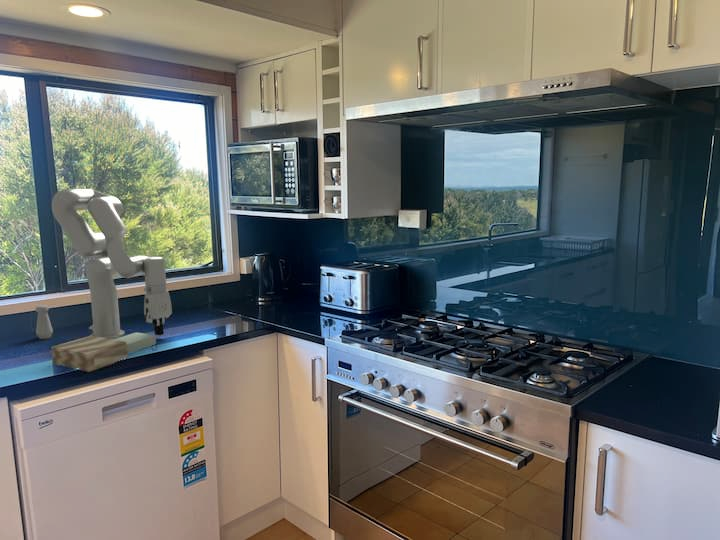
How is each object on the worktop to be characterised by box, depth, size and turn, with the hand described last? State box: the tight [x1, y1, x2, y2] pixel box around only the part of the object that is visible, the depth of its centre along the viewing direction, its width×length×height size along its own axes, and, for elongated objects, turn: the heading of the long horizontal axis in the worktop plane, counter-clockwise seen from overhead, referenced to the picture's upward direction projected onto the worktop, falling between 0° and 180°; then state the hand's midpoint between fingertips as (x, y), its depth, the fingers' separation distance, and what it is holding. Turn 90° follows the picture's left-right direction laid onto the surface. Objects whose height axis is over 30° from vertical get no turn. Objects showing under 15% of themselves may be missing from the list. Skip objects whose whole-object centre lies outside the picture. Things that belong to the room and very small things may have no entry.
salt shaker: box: [35, 304, 54, 340], centre depth 211 cm, size 6×6×13 cm
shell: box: [113, 331, 157, 354], centre depth 198 cm, size 10×13×4 cm
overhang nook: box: [51, 335, 128, 373], centre depth 183 cm, size 18×15×6 cm
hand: (159, 334), depth 210 cm, fingers closed
